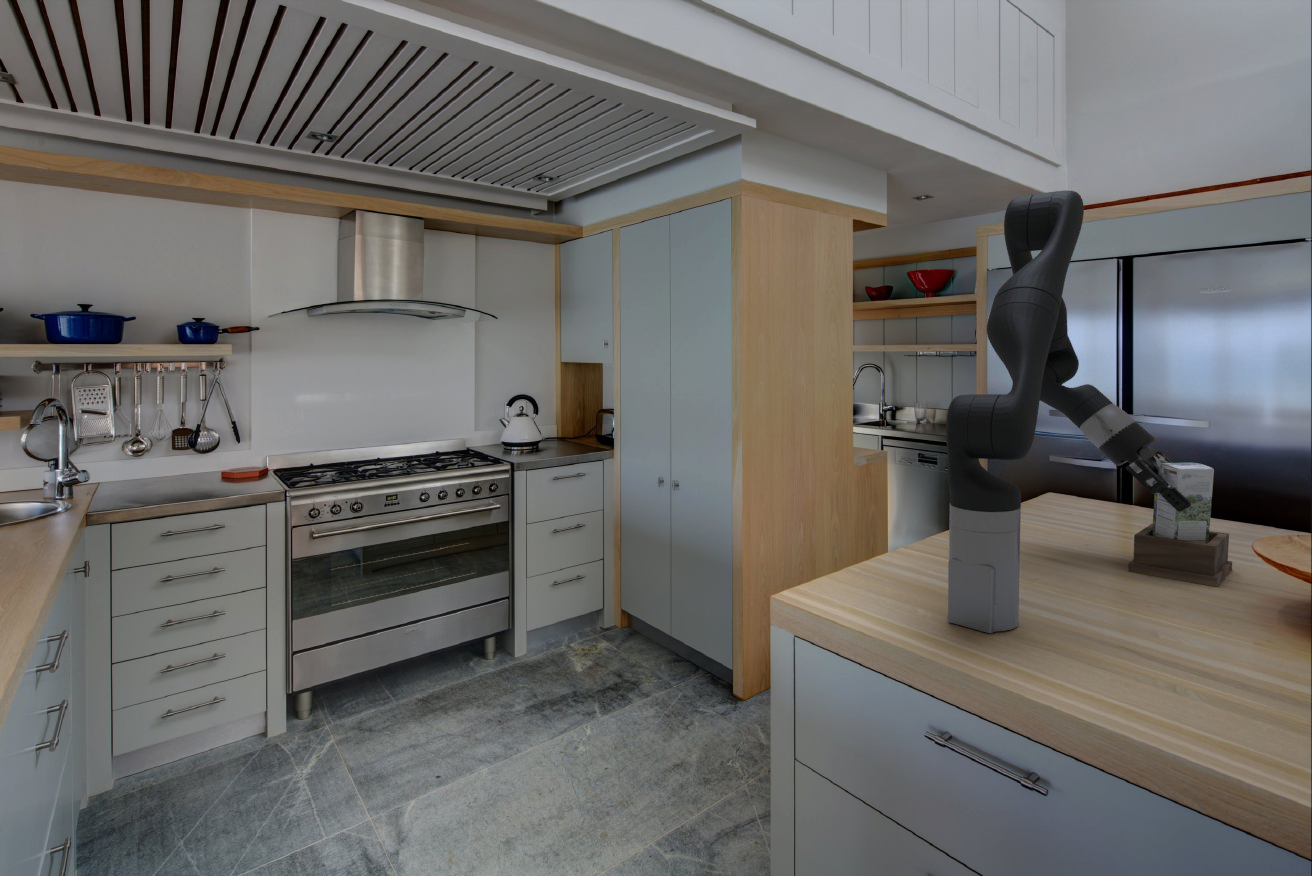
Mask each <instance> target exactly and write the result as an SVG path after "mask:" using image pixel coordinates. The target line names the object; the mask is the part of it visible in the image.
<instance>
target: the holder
mask: <svg viewBox="0 0 1312 876" xmlns="http://www.w3.org/2000/svg"><path fill="white" fill-rule="evenodd" d="M1152 526H1153V523H1150V524H1149V525H1147V526H1146V527H1144V528H1143V529H1141V530H1140V531H1138V532H1137V533H1135V534H1134V536H1133V538H1134V539H1133V558H1132V560H1130V561H1129V562H1128V569H1127V572H1132V573H1136V574H1137V573H1138V574H1143V575H1149V576H1152V577H1153V576H1155V577H1159V578H1160V577H1161V578H1165V579H1171V580H1177V581H1182V582H1189V583H1194V584H1199V585H1205V586H1210V587H1216V588H1217V587H1218V586H1219V585H1220V584H1221V583H1222V582H1223V581H1224V580H1225V578H1227V576H1228V575H1229V574H1230V573H1231V572H1232V571H1231V570H1233V561H1231V560H1229V546H1230V545H1229V542H1230V533H1227V532H1220V531H1219V532H1218V531H1213V530H1209V541H1208V544H1207V543H1200V542H1192V541H1185V540H1178V539H1171V538H1164V537H1157V536H1152ZM1230 571H1231V572H1230Z"/></svg>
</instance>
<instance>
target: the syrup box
mask: <svg viewBox="0 0 1312 876" xmlns="http://www.w3.org/2000/svg"><path fill="white" fill-rule="evenodd" d="M1161 465H1162V467H1163V468H1164V469H1165V471H1166V472H1167V473H1168V475H1169V476H1168V480H1169V482H1170V483H1171V484H1172V486H1173V487H1174V488H1176V489H1177V490H1178V491H1179V492H1180V493H1181V494H1182V495H1183V496H1184V497H1185V498H1186V499H1187V500H1189V501H1190V502H1191V506H1190V507H1188V508H1187V509H1185V510H1183V511H1182V512H1179V511H1177V510H1176V509H1175V508H1174V507H1173V506H1172V505H1171V504H1170V503H1169V502H1167V501H1166V500H1165V499H1164V498H1163V497H1162V496H1161V495H1160V496H1159V495H1157V494H1156V493H1155V494H1153V495H1154V498H1153V514H1152V515H1153V516H1152V524H1153V526H1152V536H1157V537H1164V538H1171V539H1178V540H1185V541H1192V542H1200V543H1207V544H1208V541H1209V531H1210V528H1211V527H1210V526H1211V525H1210V524H1211V514H1212V499H1213V487H1214V475H1215V469H1214V468H1213V467H1211V466H1208V465H1205V464H1202V463H1198V462H1173V463H1161ZM1173 487H1172V488H1173ZM1172 488H1171V489H1172Z"/></svg>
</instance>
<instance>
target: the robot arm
mask: <svg viewBox="0 0 1312 876" xmlns="http://www.w3.org/2000/svg"><path fill="white" fill-rule="evenodd" d="M1084 210H1085V208H1084V201H1083V198H1082V196H1081V195H1080V194H1079V192H1077V191H1074V190H1055V191H1049V192H1048V191H1047V192H1042V193H1034V194H1027V195H1021V196H1016V197H1015V198H1012V199H1011V200H1010V202H1008V205H1007V207H1006V209H1005V213H1004V222H1003V235H1004V241H1005V248H1006V251H1007V255H1008V259H1009V263H1010V269H1011V272H1012V276H1011V277H1009V278H1008V279H1007V280H1006V281H1005V282H1004V283H1003V284H1002V285H1001V286H1000V288H999V289H998V291H997V292H996V294H995V296H994V299H993V301H992V302H993V303H992V305H991V307H990V308H991V309H990V311H989V315H988V318H987V323H986V335H987V339H988V340H989V342H990V345H991V347H992V349H993V350H994V352H995V353H996V355H997V356H998V358H999V359H1000V361H1001V362H1002V363H1003V365H1004V366H1005V369H1006V370H1007V371H1008V374H1009V377H1010V379H1011V380H1012V381H1011V382H1012V387H1011V389H1010V391H1009V392H1008V393H1006V394H1001V393H999V394H998V393H996V394H995V393H993V394H987V393H986V394H983V393H982V394H959V395H957V396H954V398H953V399H952V400H951V402H950V403H949V406H948V409H947V413H946V423H945V436H946V455H947V456H946V457H947V485H948V492H949V527H948V528H949V529H948V531H949V533H948V535H949V537H948V543H949V544H948V546H949V547H948V564H947V565H948V571H947V572H948V577H947V578H948V579H947V580H948V581H947V583H948V584H947V586H948V589H947V592H948V593H947V598H948V599H947V621H948V622H947V623H951V624H955V625H959V626H962V627H965V628H969V629H972V630H977V631H980V632H985V633H987V634H993V633H994V632H995V633H996V632H1006V631H1010V630H1014V629H1016V628H1017V627H1018V626H1019V624H1020V623H1019V617H1020V615H1019V613H1020V563H1021V562H1020V561H1021V555H1020V554H1021V522H1022V521H1021V517H1022V513H1021V512H1022V507H1021V506H1022V493H1021V490H1020V488H1019V486H1017V485H1015V484H1014V483H1012V482H1009V481H1007V480H1004V479H1002V478H1000V477H998V476H996V475H994V474H992V473H990V472H989V471H988V470H987V469H986V468H984V467H983V466H982V464H981V463H980V460H979V459H982V460H983V459H984V460H996V461H997V460H998V461H999V460H1000V461H1001V460H1002V461H1015V460H1022V459H1024V458H1025V457H1026V456H1027V455H1028V453H1029V452H1030V450H1031V448H1032V446H1033V442H1034V439H1035V434H1036V429H1037V428H1036V427H1037V422H1038V414H1039V408H1040V402H1042V403H1044V404H1046V405H1048V406H1050V407H1051V408H1053V409H1055V410H1056V411H1058V412H1060V413H1061V414H1063V415H1065V417H1066V418H1068V419H1069V420H1070V421H1071V422H1072V423H1073V424H1074V425H1075V426H1076V427H1077V429H1079V430H1080V431H1081V432H1082V433H1083V435H1084V436H1085V437H1086V439H1088V441H1090V442H1091V443H1092V445H1094V446H1095V447H1096V448H1097V449H1098V450H1099V451H1100V452H1101V453H1103V455H1104V456H1106V458H1107V459H1109V461H1111V462H1112V463H1113V464H1114V465H1115V466H1117V467H1119V466H1122V465H1124V464H1126V463H1127V462H1128V465H1127V466H1125V470H1126V471H1127V472H1128V473H1130V474H1131V476H1133V478H1135V480H1137V481H1138V483H1140V484H1141V485H1142V486H1143V487H1144V488H1145V489H1146V490H1147V491H1148V492H1149V493H1150V494H1152V495H1155V493H1156V494H1157V495H1159V496H1160V495H1161V496H1162V497H1163V498H1164V499H1165V500H1166V501H1167V502H1169V503H1170V504H1171V505H1172V506H1173V507H1174V508H1175V509H1176V510H1177V511H1179V512H1182V511H1183V510H1185V509H1187V508H1188V507H1190V506H1191V502H1190V501H1189V500H1187V499H1186V498H1185V497H1184V496H1183V495H1182V494H1181V493H1180V492H1179V491H1178V490H1177V489H1176V488H1174V487H1173V486H1172V484H1171V483H1170V482H1169V480H1168V476H1169V475H1168V473H1167V472H1166V471H1165V469H1164V468H1163V467H1162V465H1161V463H1174V462H1173V461H1172V460H1171V459H1170V458H1169V457H1167V456H1166V455H1165V453H1164V452H1163V451H1160V450H1159V449H1158V450H1156V451H1155V452H1153V451H1152V450H1150V449H1149V447H1150V446H1152V445H1153V444H1154V442H1155V440H1156V438H1155V436H1154V435H1152V434H1151V433H1150V432H1148V431H1147V430H1146V429H1145V428H1144V427H1143V426H1141V424H1139V422H1137V421H1136V420H1135V419H1134V418H1133V417H1131V415H1130V414H1128V413H1127V412H1126V411H1124V409H1122V408H1121V407H1119V406H1118V405H1116V404H1115V403H1114V402H1113V401H1111V399H1109V398H1108V397H1107V396H1106V395H1105V394H1103V393H1102V392H1101V391H1100V390H1099V389H1098V388H1097V387H1095V386H1094V385H1093V384H1089V383H1087V384H1082V385H1078V386H1074V387H1068V386H1065V385H1064V384H1065V383H1067V382H1068V381H1070V380H1072V378H1074V377H1075V376H1076V374H1077V372H1078V371H1079V367H1080V366H1079V365H1080V363H1079V359H1078V355H1077V353H1076V352H1075V349H1074V347H1073V344H1072V341H1071V340H1070V337H1069V334H1068V331H1069V329H1068V310H1067V306H1066V302H1065V300H1064V298H1063V293H1064V287H1065V281H1066V277H1067V273H1068V270H1069V267H1070V263H1071V261H1072V258H1073V255H1074V251H1075V250H1076V246H1077V243H1078V240H1079V236H1080V233H1081V229H1082V226H1083V222H1084V215H1085V213H1084V212H1085V211H1084ZM1032 251H1033V252H1035V251H1040V252H1039V253H1038V254H1037V255H1036V256H1035V257H1034V258H1033V256H1032V255H1033V254H1032ZM1172 487H1173V488H1172ZM1171 488H1172V489H1171Z"/></svg>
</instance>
